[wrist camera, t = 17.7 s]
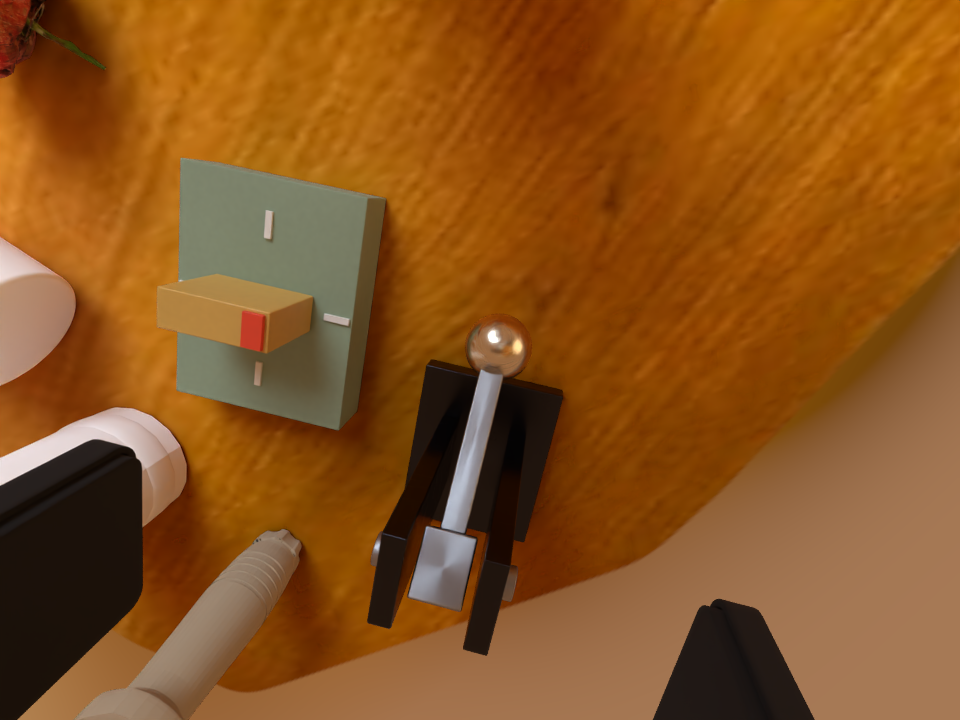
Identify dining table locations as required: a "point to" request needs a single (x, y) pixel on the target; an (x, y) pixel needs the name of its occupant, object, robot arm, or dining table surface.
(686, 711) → the robot arm
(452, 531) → the ball knob lever
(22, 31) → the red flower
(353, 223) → the plate
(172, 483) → the bottle
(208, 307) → the lock knob
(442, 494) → the handle bracket
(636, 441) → the dining table surface
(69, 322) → the mug
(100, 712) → the handle
